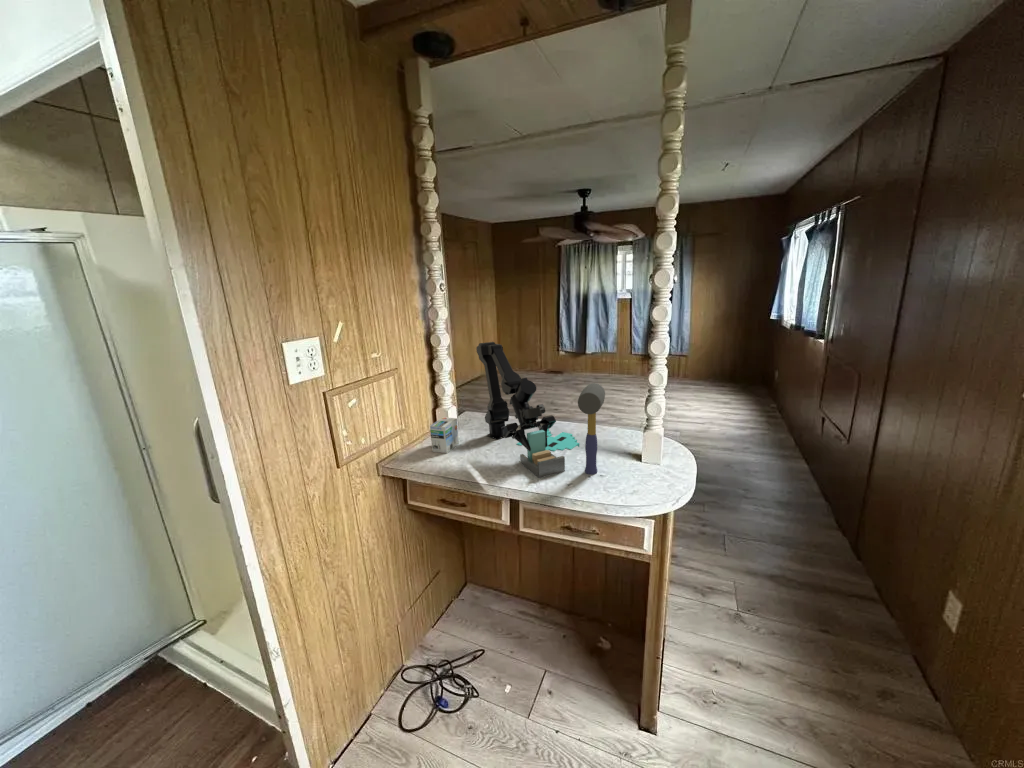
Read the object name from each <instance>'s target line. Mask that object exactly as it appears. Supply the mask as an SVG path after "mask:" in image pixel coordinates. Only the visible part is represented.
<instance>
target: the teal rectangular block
mask: <svg viewBox="0 0 1024 768" xmlns="http://www.w3.org/2000/svg"><path fill="white" fill-rule="evenodd" d="M526 438H527V440H528V443H529V445H530V448H531V451H528V450H527V449H526V450H527V452H526V453H527V456H526V457H527V458H529V459H530V460H531V461H532V454H533V453H537V452H541V451H545V450H546V447H545V431H544V430H539V429H538V430H534V431H530V432H526Z"/></svg>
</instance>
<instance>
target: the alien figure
mask: <svg viewBox="0 0 1024 768" xmlns="http://www.w3.org/2000/svg"><path fill="white" fill-rule="evenodd" d="M515 444H516V445H517V446H523V445H522V444H521V443H520V442H517V443H515ZM575 447H578V448H580V442H578V440H577V439H576V436H573V433H569V432H564V431H561V433H559V434H557V435H555V436H553V434H552V432H551V431H550V428H549V429H547V447H546V450H549V451H550V452H555V451H557V450H558V451H564V450H570V451H572V450H573V449H574V448H575Z"/></svg>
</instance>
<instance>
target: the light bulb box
mask: <svg viewBox="0 0 1024 768" xmlns="http://www.w3.org/2000/svg"><path fill="white" fill-rule="evenodd" d="M429 430H430V440H431V452H434V453H441V454H448V453H449V452H450V451H452V450H453V449H455V447H456V446H457V445H458V444H459V443H460V441H459V425H458V418H457V417H446V416H442V417H441V418H439V419H437V420H436V421H435V422H433V423H432V424H430V425H429Z"/></svg>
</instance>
